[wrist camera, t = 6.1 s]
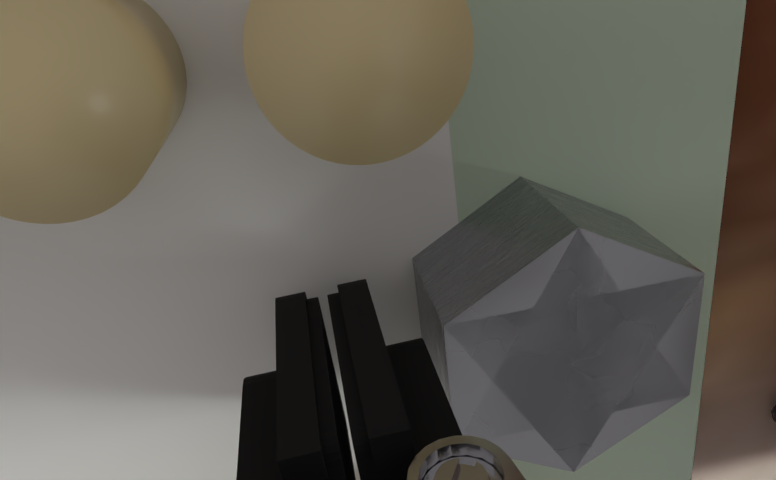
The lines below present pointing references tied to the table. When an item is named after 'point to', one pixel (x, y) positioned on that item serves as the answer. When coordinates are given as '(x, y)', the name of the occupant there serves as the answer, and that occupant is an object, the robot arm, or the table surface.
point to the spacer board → (312, 192)
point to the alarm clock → (774, 413)
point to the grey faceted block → (556, 324)
